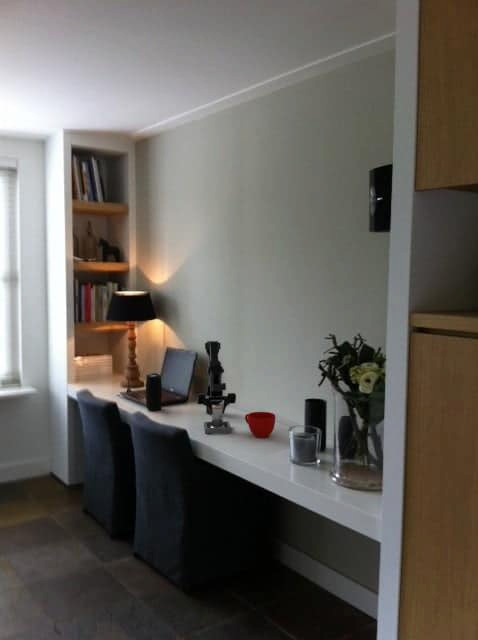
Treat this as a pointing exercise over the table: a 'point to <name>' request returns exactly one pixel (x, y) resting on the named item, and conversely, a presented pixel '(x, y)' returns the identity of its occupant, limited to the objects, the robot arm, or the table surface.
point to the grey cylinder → (217, 416)
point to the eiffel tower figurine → (127, 389)
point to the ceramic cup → (261, 423)
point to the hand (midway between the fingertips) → (217, 413)
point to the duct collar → (217, 430)
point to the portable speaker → (153, 392)
